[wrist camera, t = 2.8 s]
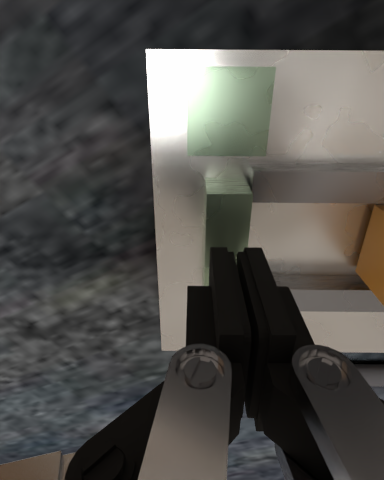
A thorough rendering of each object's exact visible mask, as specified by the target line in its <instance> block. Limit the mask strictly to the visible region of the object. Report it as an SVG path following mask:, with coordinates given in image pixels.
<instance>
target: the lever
mask: <svg viewBox="0 0 384 480" xmlns="http://www.w3.org/2000/svg"><path fill="white" fill-rule="evenodd" d="M355 272H356V273H357V274H358V275H359V276H360V278H361V279H362V280H363V281H364V283H365V284H366V285H367V286H368V287H369V289H370V290H371V291H372V292H373V293H374V295H375V296H376V297H377V298H378V300H379V301H380V302H381V303H382V304H383V306H384V205H374V208H373V211H372V215H371V218H370V222H369V225H368V228H367V232H366V235H365V239H364V242H363V246H362V249H361V253H360V256H359V259H358V263H357V266H356V270H355Z"/></svg>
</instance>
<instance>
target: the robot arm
mask: <svg viewBox="0 0 384 480" xmlns="http://www.w3.org/2000/svg"><path fill="white" fill-rule="evenodd" d="M244 401H245V407H246V413H247V417H248V418H254V421H255V426H256V431H264V434H265V435H266V436H267V437H269V438H270V439H271V440H272V441H273V442H274V443H275V451H276V455H277V458H278V461H279V464H280V466H281V469H282V472H283V475H284V477H285V480H384V401H383V400H381V399H380V398H378V396H377V395H376V394H375V392H374V391H373V389H372V388H371V387H370V385H369V384H368V383H367V381H366V380H365V379H364V377H363V376H362V375H361V373H360V372H359V371H358V369H357V368H356V367H355V365H354V364H353V363H352V362H351V361H350V360H349V359H348V358H347V357H346V356H345V355H343V354H342V353H340V352H339V351H337V350H334V349H332V348H330V347H327V346H322V345H315V344H314V341H313V339H312V337H311V335H310V333H309V330H308V328H307V326H306V324H305V322H304V319H303V317H302V315H301V313H300V311H299V308H298V306H297V304H296V302H295V299H294V297H293V295H292V293H291V291H290V289H289V287H287V286H277V285H276V282H275V280H274V277H273V275H272V272H271V270H270V267H269V264H268V262H267V259H266V257H265V254H264V252H263V249H262V248H259V247H244V250H243V252H238V254H237V265H236V261H235V256H234V252H228V250H227V247H210V263H209V286H187V317H186V346H185V347H183V348H182V349H180V350H178V351H177V352H176V353H175V354H174V355H173V356H172V359H171V361H170V363H169V366H168V370H167V373H166V377H165V381H163V382H162V383H161V384H159V385H158V386H157V387H156V388H154V389H153V390H152V391H151V392H149V393H148V394H147V395H145V396H144V397H143V398H142V399H140V400H139V401H138V402H137V403H135V404H134V405H133V406H131V407H130V408H129V409H128V410H126V411H125V412H124V413H122V414H121V415H120V416H119V417H117V418H116V419H115V420H114V421H112V422H111V423H110V424H108V425H107V426H106V427H105V428H103V429H102V430H101V431H100V432H98V433H97V434H96V435H94V436H93V437H92V438H91V439H89V440H88V441H87V442H86V443H85V444H84V445H83V446H82V447H81V448H80V449H79V450H78V451H77V452H75V453H71V454H66V455H62V453H61V451H58V452H53V453H49V454H45V455H40V456H36V457H32V458H27V459H23V460H19V461H15V462H10V463H6V464H2V465H0V480H227V460H228V446H229V444H230V443H231V442H232V441H233V440H234V439H235V438H236V436H237V435H238V434H239V429H240V421H241V418H242V415H243V407H244Z"/></svg>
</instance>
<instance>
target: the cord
mask: <svg viewBox="0 0 384 480" xmlns="http://www.w3.org/2000/svg"><path fill="white" fill-rule="evenodd" d="M354 365H355V367H356V368H357V369H358V371H359V372H360V373H361V375H362V376H363V377H364V379H365V380H366V381H367V383H368V384H369V385H370V386H384V364H354Z"/></svg>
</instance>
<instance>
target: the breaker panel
mask: <svg viewBox="0 0 384 480" xmlns="http://www.w3.org/2000/svg"><path fill="white" fill-rule="evenodd" d="M146 61H147V80H148V99H149V118H150V137H151V156H152V175H153V194H154V213H155V231H156V250H157V269H158V288H159V307H160V326H161V345H162V351H178V350H180V349H182V348H183V347H185V346H186V317H187V286H209V263H210V247H227V250H228V252H234V256H235V261H236V265H237V254H238V252H243V250H244V247H259V248H262V249H263V252H264V254H265V257H266V259H267V262H268V264H269V267H270V270H271V272H272V275H273V277H274V280H275V282H276V285H277V286H287V287H289V289H290V291H291V293H292V295H293V297H294V299H295V302H296V304H297V306H298V308H299V311H300V313H301V315H302V317H303V319H304V322H305V324H306V326H307V328H308V330H309V333H310V335H311V337H312V339H313V341H314V344H315V345H322V346H327V347H330V348H332V349H334V350H337V351H339V352H372V353H384V306H383V304H382V303H381V302H380V301H379V300H378V298H377V297H376V296H375V295H374V293H373V292H372V291H371V290H370V289H369V287H368V286H367V285H366V284H365V283H364V281H363V280H362V279H361V278H360V276H359V275H358V274H357V273H356V272H355V270H356V266H357V263H358V259H359V256H360V253H361V249H362V246H363V242H364V239H365V235H366V232H367V228H368V225H369V222H370V218H371V215H372V211H373V208H374V205H384V51H353V50H193V49H146Z"/></svg>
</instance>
